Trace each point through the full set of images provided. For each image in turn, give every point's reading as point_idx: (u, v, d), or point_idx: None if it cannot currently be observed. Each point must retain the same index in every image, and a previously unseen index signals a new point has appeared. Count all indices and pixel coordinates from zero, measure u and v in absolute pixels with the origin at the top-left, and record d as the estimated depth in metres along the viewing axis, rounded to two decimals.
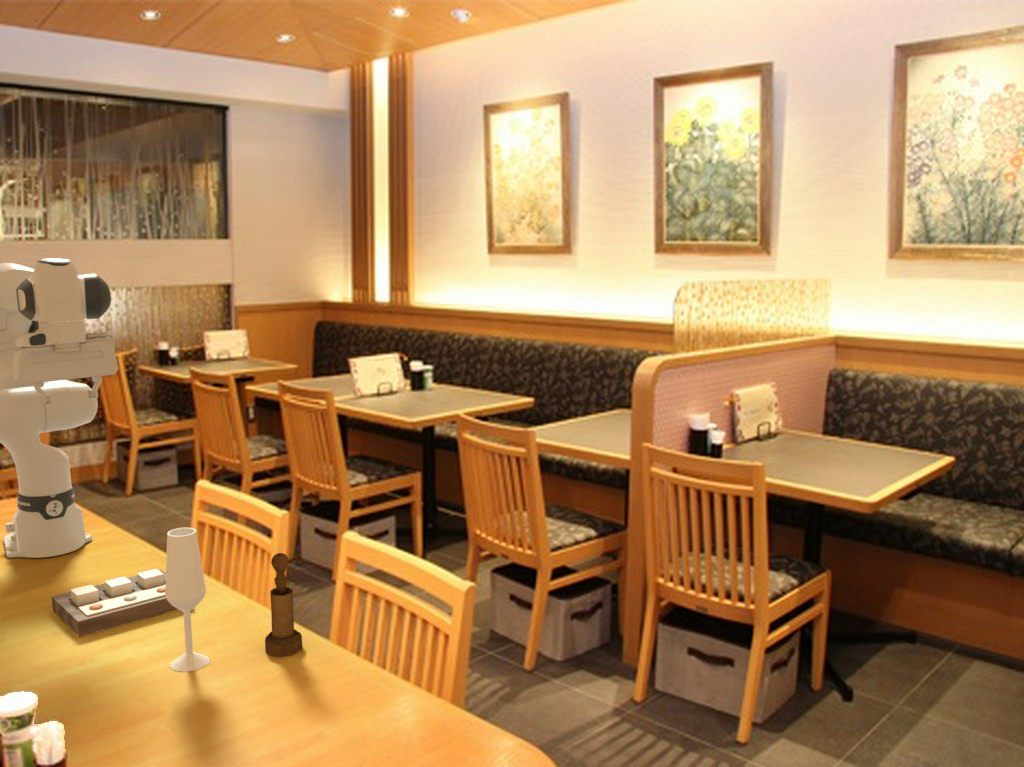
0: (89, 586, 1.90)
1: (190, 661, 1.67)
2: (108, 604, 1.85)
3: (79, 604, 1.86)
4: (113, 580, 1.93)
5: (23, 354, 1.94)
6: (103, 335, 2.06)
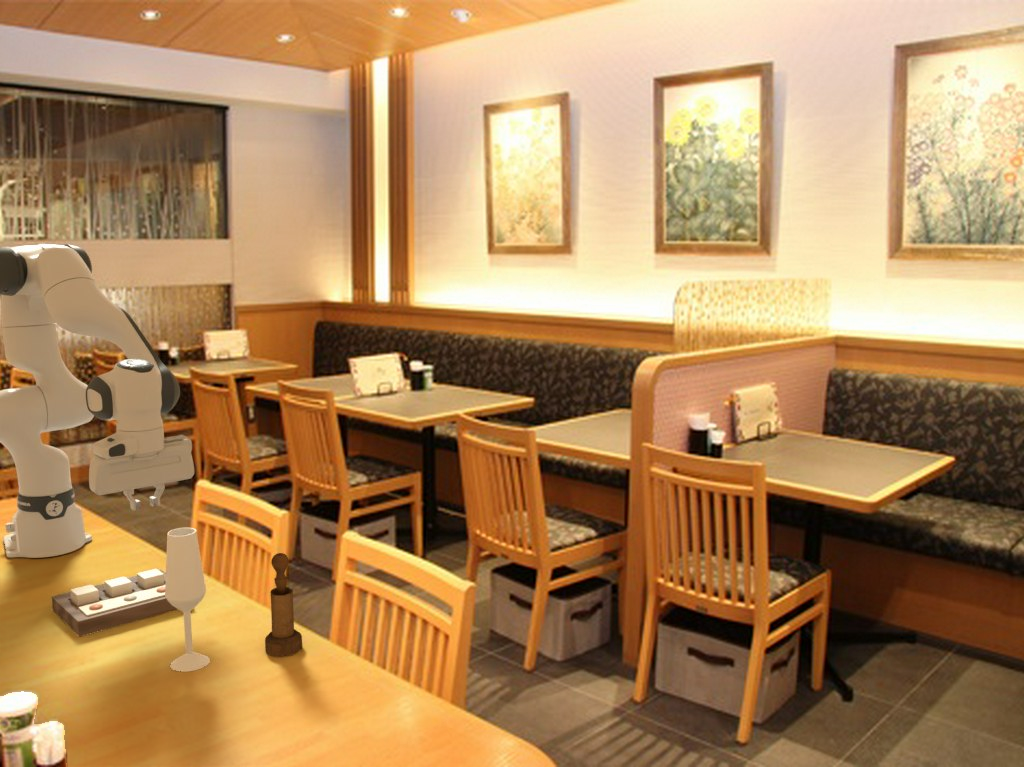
0: (89, 586, 1.90)
1: (190, 661, 1.67)
2: (108, 604, 1.85)
3: (79, 604, 1.86)
4: (113, 580, 1.93)
5: (102, 466, 1.85)
6: (181, 438, 1.97)
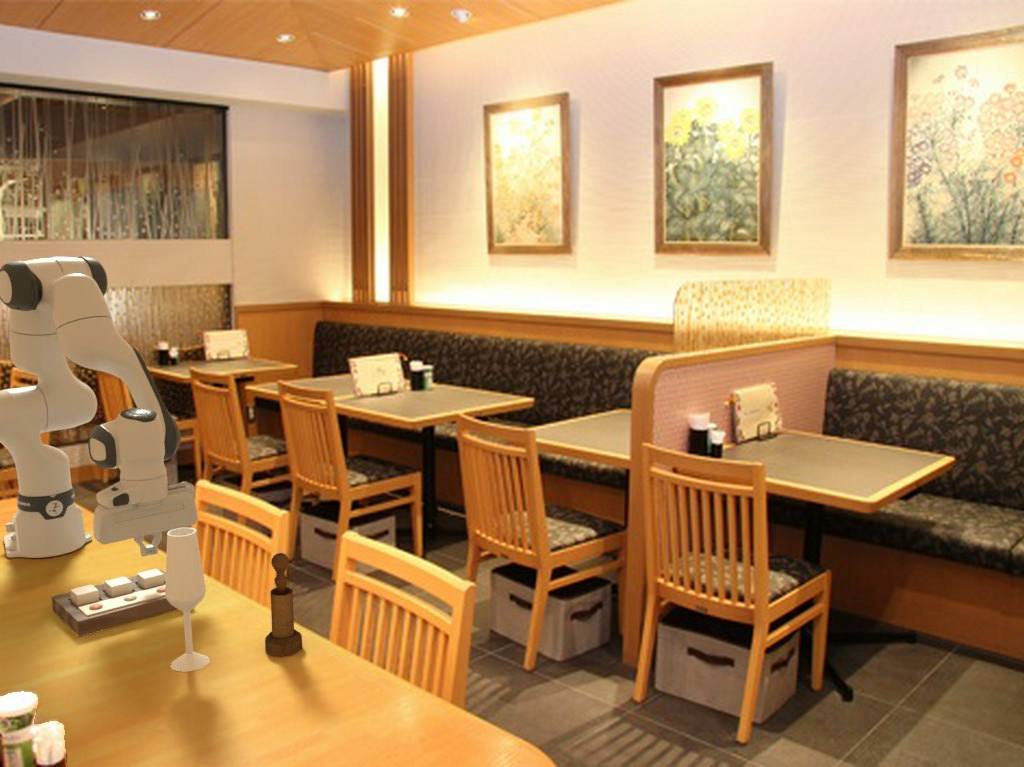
0: (89, 586, 1.90)
1: (190, 661, 1.67)
2: (108, 604, 1.85)
3: (79, 604, 1.86)
4: (113, 580, 1.93)
5: (106, 516, 1.87)
6: (184, 485, 1.99)
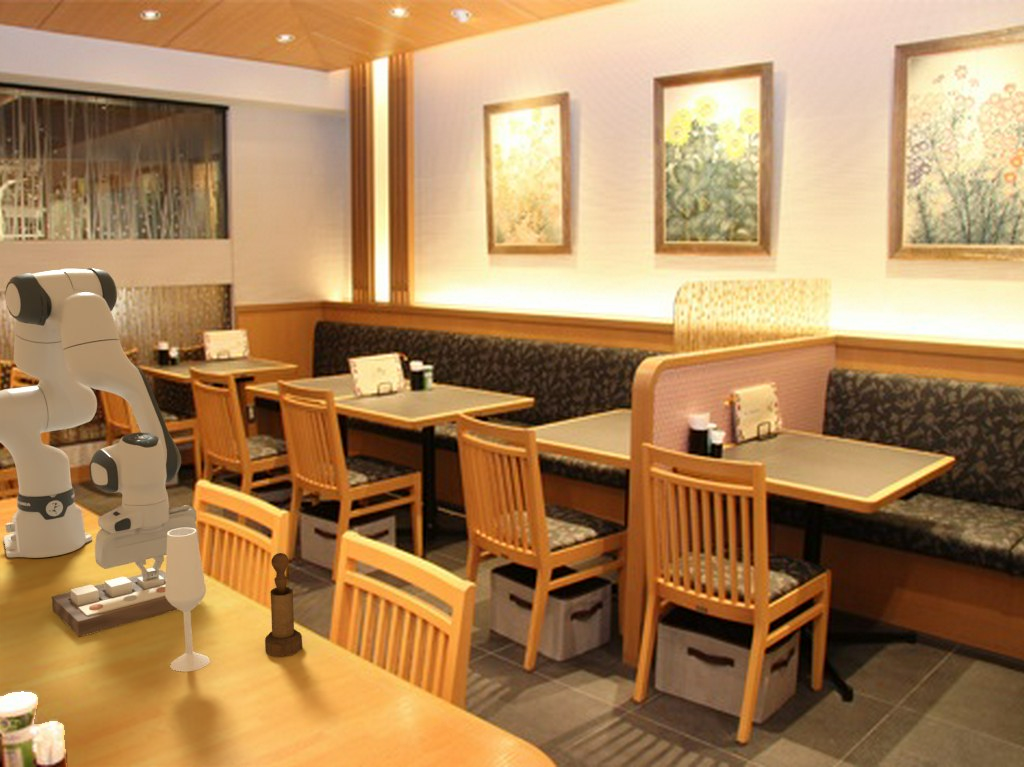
0: (89, 586, 1.90)
1: (190, 661, 1.67)
2: (108, 604, 1.85)
3: (79, 604, 1.86)
4: (113, 580, 1.93)
5: (108, 541, 1.88)
6: (185, 508, 1.99)
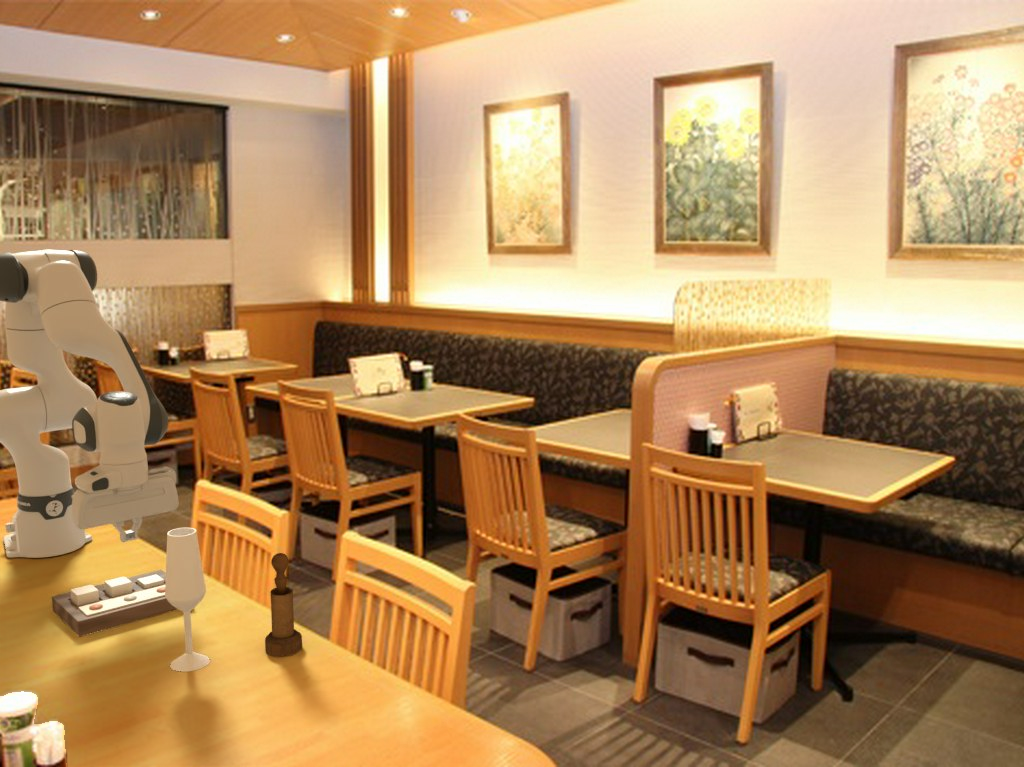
0: (89, 586, 1.90)
1: (190, 661, 1.67)
2: (108, 604, 1.85)
3: (79, 604, 1.86)
4: (113, 580, 1.93)
5: (85, 500, 1.84)
6: (165, 470, 1.96)
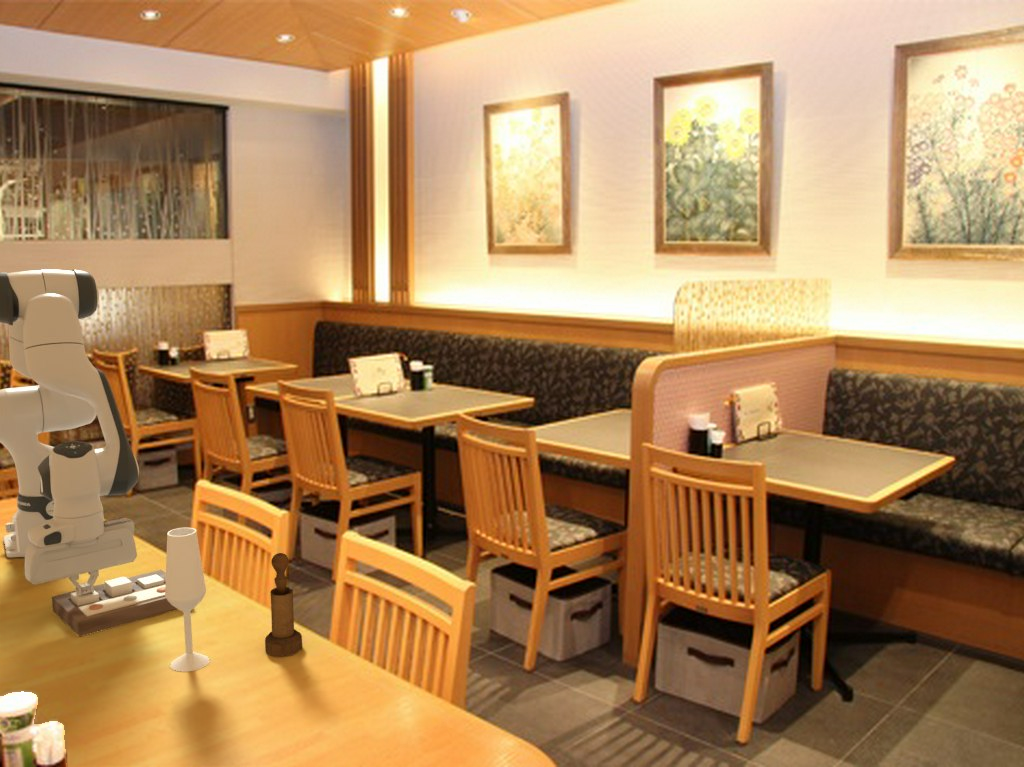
0: None
1: (190, 661, 1.67)
2: (108, 604, 1.85)
3: None
4: (113, 580, 1.93)
5: (37, 555, 1.79)
6: (122, 521, 1.91)
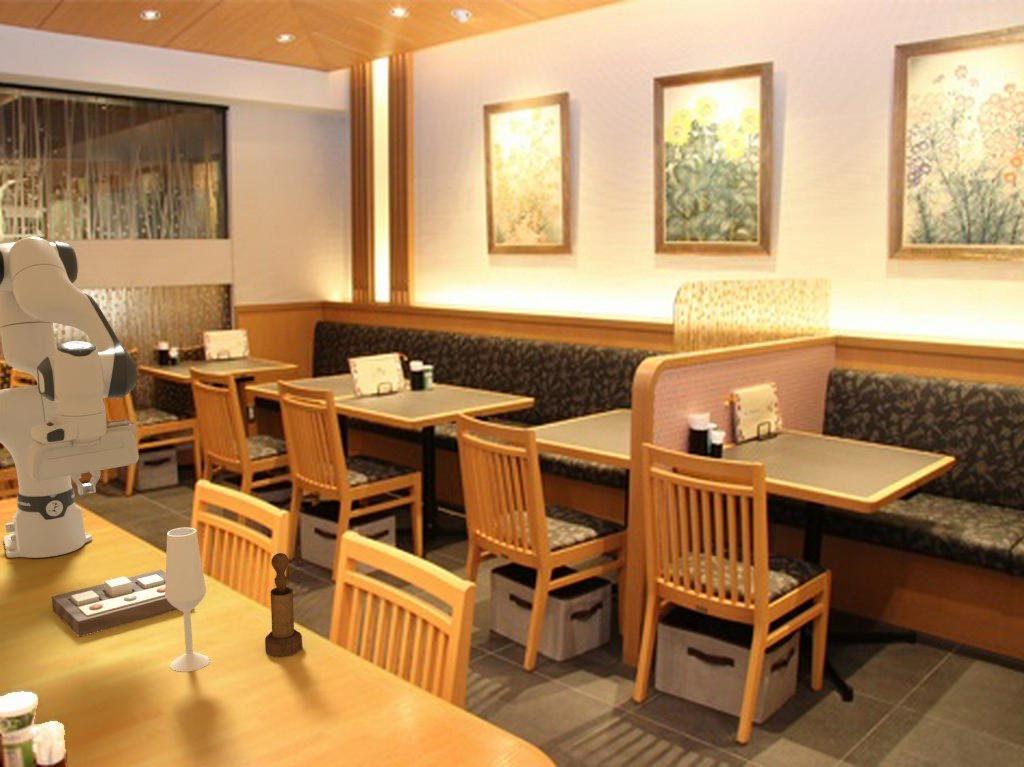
0: (90, 592, 1.90)
1: (190, 661, 1.67)
2: (108, 604, 1.85)
3: None
4: (113, 580, 1.93)
5: (40, 451, 1.81)
6: (124, 423, 1.92)
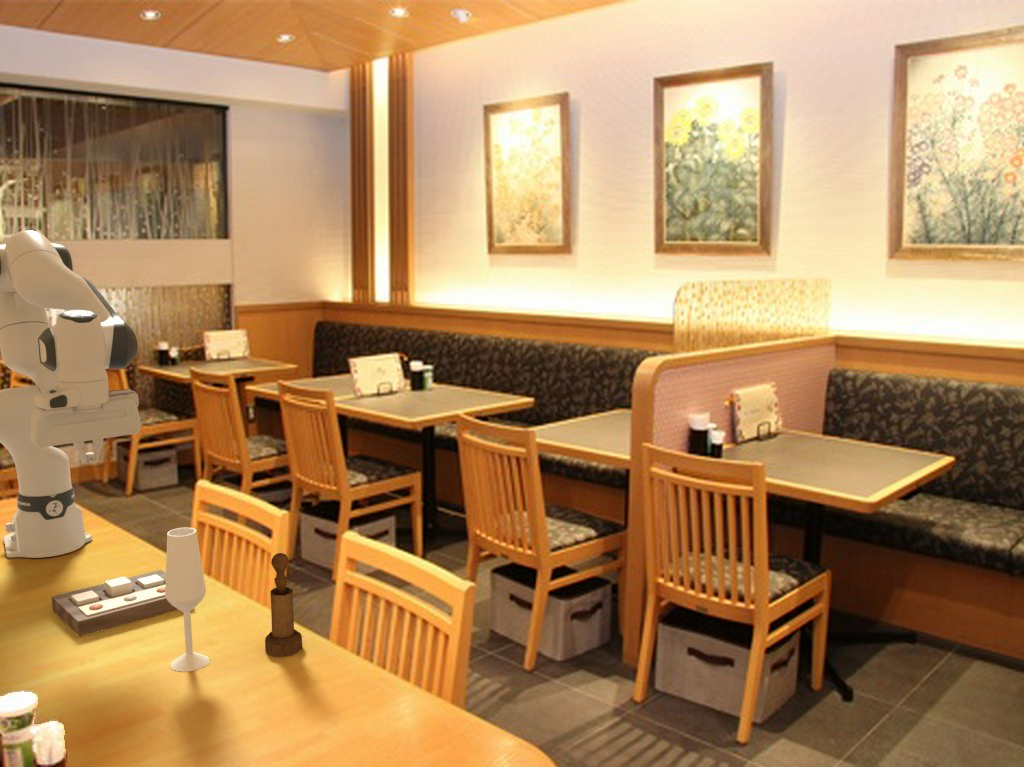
0: (90, 592, 1.90)
1: (190, 661, 1.67)
2: (108, 604, 1.85)
3: None
4: (113, 580, 1.93)
5: (43, 417, 1.82)
6: (127, 392, 1.93)
